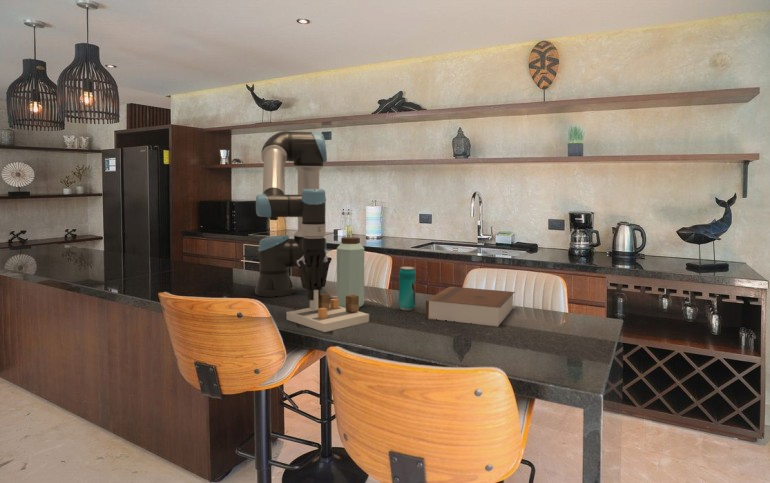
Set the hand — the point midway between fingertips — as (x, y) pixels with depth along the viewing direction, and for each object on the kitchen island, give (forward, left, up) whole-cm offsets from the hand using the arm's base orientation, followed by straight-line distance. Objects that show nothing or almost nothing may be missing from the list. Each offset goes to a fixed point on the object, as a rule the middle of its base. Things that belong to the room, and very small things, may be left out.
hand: (314, 309), depth 167 cm
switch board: (+4, +2, -3) cm, 6 cm away
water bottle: (-7, +21, -4) cm, 23 cm away
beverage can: (+10, +33, -4) cm, 35 cm away
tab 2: (+8, +9, -1) cm, 12 cm away
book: (+29, +46, -4) cm, 55 cm away
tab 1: (0, +4, -1) cm, 4 cm away
